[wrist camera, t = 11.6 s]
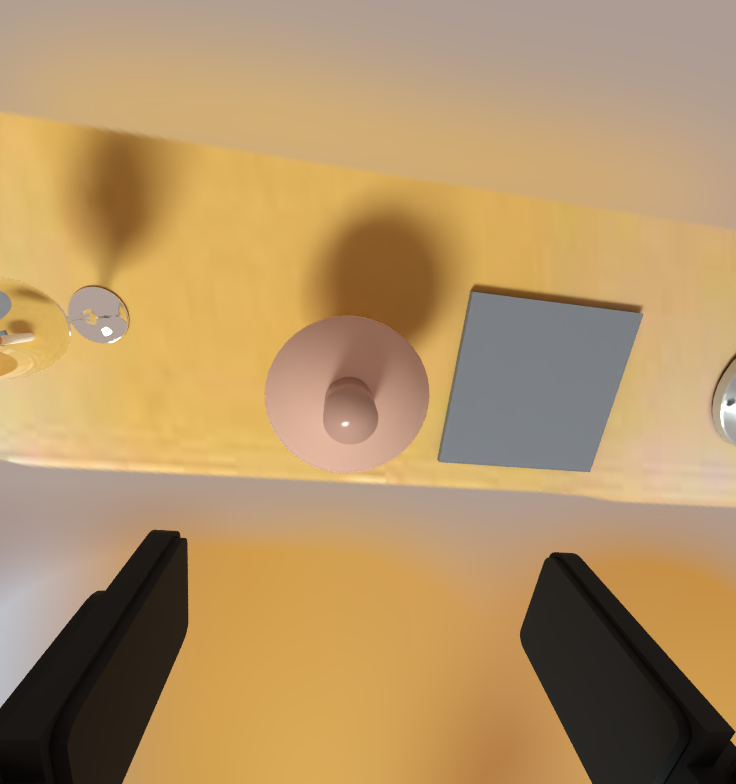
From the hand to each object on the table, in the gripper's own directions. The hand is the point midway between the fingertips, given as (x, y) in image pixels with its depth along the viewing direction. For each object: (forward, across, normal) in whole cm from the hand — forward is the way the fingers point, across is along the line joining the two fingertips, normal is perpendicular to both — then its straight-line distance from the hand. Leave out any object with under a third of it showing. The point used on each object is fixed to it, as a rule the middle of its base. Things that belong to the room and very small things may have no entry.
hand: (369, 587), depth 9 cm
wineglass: (+23, +20, -2) cm, 31 cm away
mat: (+23, -18, 0) cm, 29 cm away
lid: (+16, 0, 0) cm, 16 cm away
